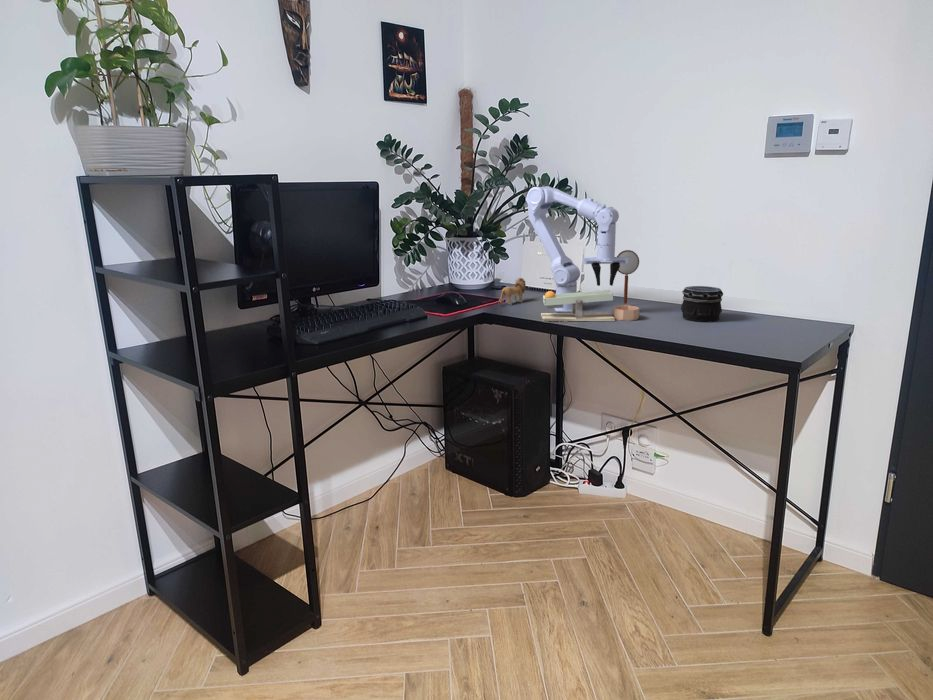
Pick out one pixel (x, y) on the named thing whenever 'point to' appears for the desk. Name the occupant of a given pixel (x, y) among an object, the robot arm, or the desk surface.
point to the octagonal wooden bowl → (626, 312)
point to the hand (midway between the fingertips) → (604, 285)
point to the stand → (577, 315)
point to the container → (701, 303)
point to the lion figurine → (514, 291)
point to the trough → (577, 298)
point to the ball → (550, 294)
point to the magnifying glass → (628, 268)
